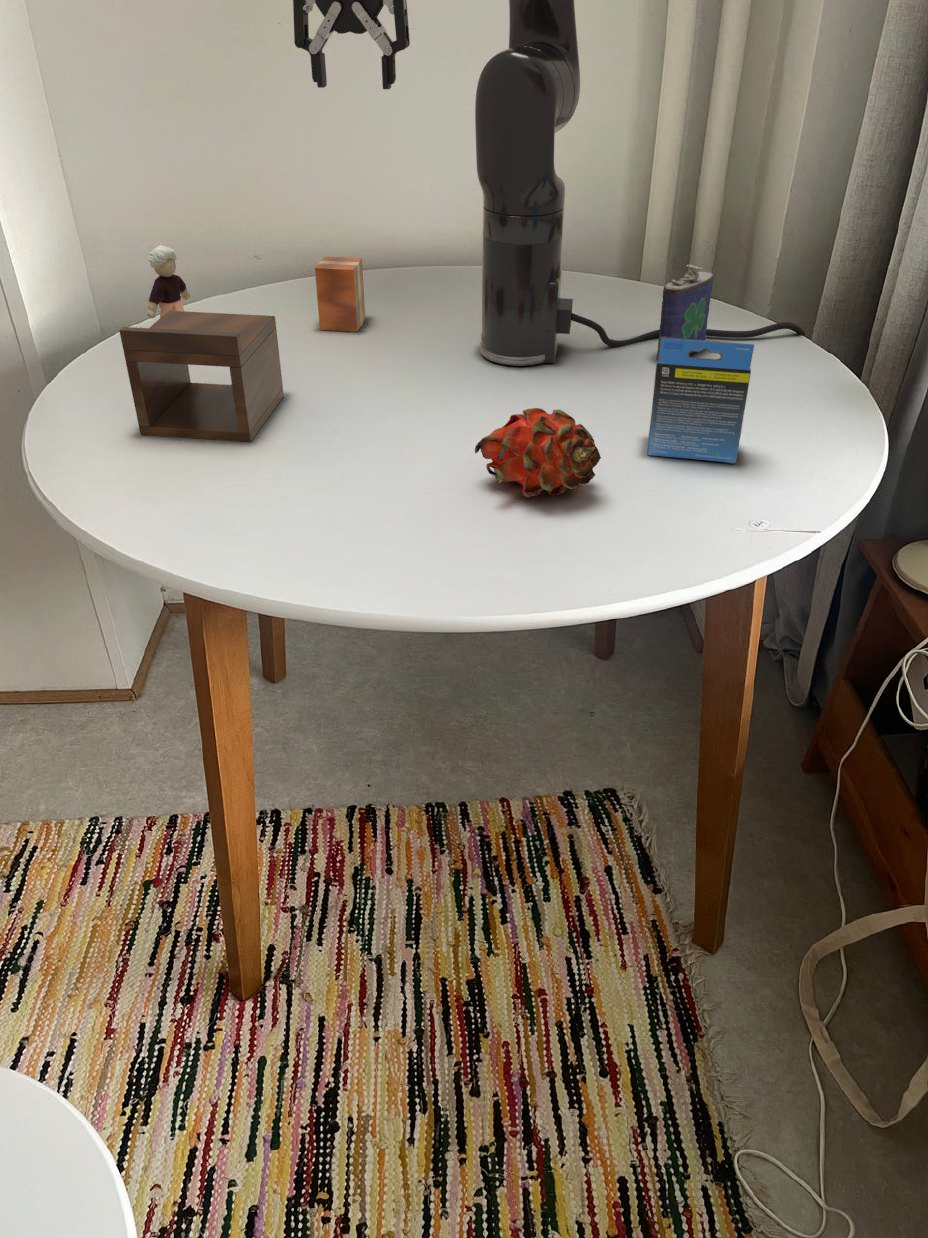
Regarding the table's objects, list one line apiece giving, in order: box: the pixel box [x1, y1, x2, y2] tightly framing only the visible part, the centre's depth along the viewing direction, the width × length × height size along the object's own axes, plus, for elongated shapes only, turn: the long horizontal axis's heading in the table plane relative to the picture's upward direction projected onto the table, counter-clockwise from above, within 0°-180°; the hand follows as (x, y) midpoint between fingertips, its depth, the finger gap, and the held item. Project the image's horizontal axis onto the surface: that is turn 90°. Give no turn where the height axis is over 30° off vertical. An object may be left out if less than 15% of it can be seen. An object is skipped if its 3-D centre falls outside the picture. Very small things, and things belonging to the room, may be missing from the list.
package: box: [314, 256, 366, 333], centre depth 130 cm, size 5×5×8 cm
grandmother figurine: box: [146, 244, 191, 319], centre depth 121 cm, size 8×4×13 cm, turn 168°
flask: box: [656, 264, 715, 363], centre depth 121 cm, size 9×3×11 cm, turn 138°
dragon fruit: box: [473, 407, 602, 499], centre depth 93 cm, size 8×8×12 cm
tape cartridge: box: [646, 337, 755, 464], centre depth 98 cm, size 9×4×12 cm, turn 77°
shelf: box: [118, 310, 285, 443], centre depth 105 cm, size 12×12×11 cm
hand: (354, 87), depth 128 cm, fingers open, 8 cm apart
